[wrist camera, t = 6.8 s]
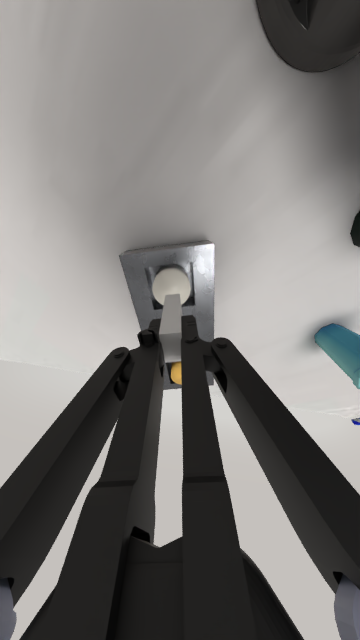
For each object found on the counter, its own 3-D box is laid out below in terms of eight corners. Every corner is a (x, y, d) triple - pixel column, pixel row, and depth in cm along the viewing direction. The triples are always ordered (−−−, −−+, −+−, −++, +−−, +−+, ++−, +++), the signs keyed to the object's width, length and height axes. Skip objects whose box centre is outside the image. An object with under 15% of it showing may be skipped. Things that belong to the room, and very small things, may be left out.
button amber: (169, 355, 32) (169, 368, 29) (194, 352, 32) (196, 365, 29) (172, 372, 35) (172, 385, 32) (195, 369, 35) (197, 383, 32)
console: (127, 250, 23) (118, 255, 20) (208, 240, 23) (214, 243, 19) (160, 375, 38) (159, 390, 34) (209, 370, 37) (213, 385, 34)
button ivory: (152, 266, 23) (148, 273, 20) (187, 262, 23) (189, 268, 20) (158, 299, 26) (156, 309, 23) (189, 295, 26) (191, 305, 23)
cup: (302, 363, 37) (369, 436, 24) (283, 348, 34) (348, 422, 22) (366, 324, 31) (497, 392, 19) (350, 302, 29) (490, 366, 16)
